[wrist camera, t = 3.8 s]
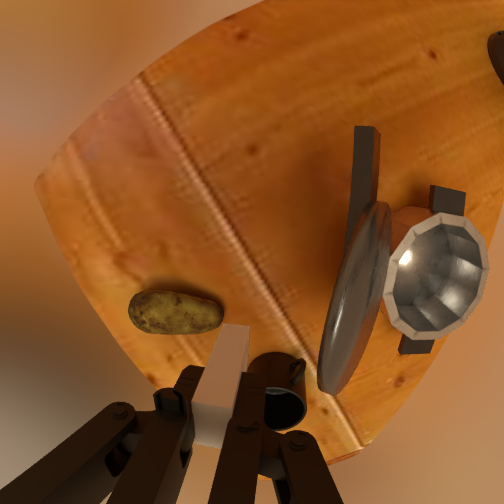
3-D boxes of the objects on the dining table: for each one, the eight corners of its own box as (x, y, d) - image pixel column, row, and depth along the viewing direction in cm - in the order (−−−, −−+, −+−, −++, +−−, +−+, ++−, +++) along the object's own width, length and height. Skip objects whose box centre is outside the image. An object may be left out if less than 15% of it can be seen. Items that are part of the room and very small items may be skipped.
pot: (463, 195, 35) (499, 200, 26) (436, 327, 40) (461, 355, 31) (363, 176, 36) (387, 175, 27) (342, 325, 41) (355, 360, 32)
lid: (364, 96, 13) (319, 97, 14) (311, 434, 18) (282, 421, 19) (401, 150, 26) (378, 147, 28) (371, 342, 31) (352, 337, 33)
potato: (209, 343, 44) (196, 372, 37) (140, 304, 44) (116, 326, 36) (231, 302, 42) (220, 328, 35) (156, 261, 42) (131, 278, 34)
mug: (326, 358, 43) (333, 394, 34) (281, 402, 46) (279, 439, 37) (279, 329, 43) (277, 363, 34) (236, 377, 46) (227, 413, 37)
